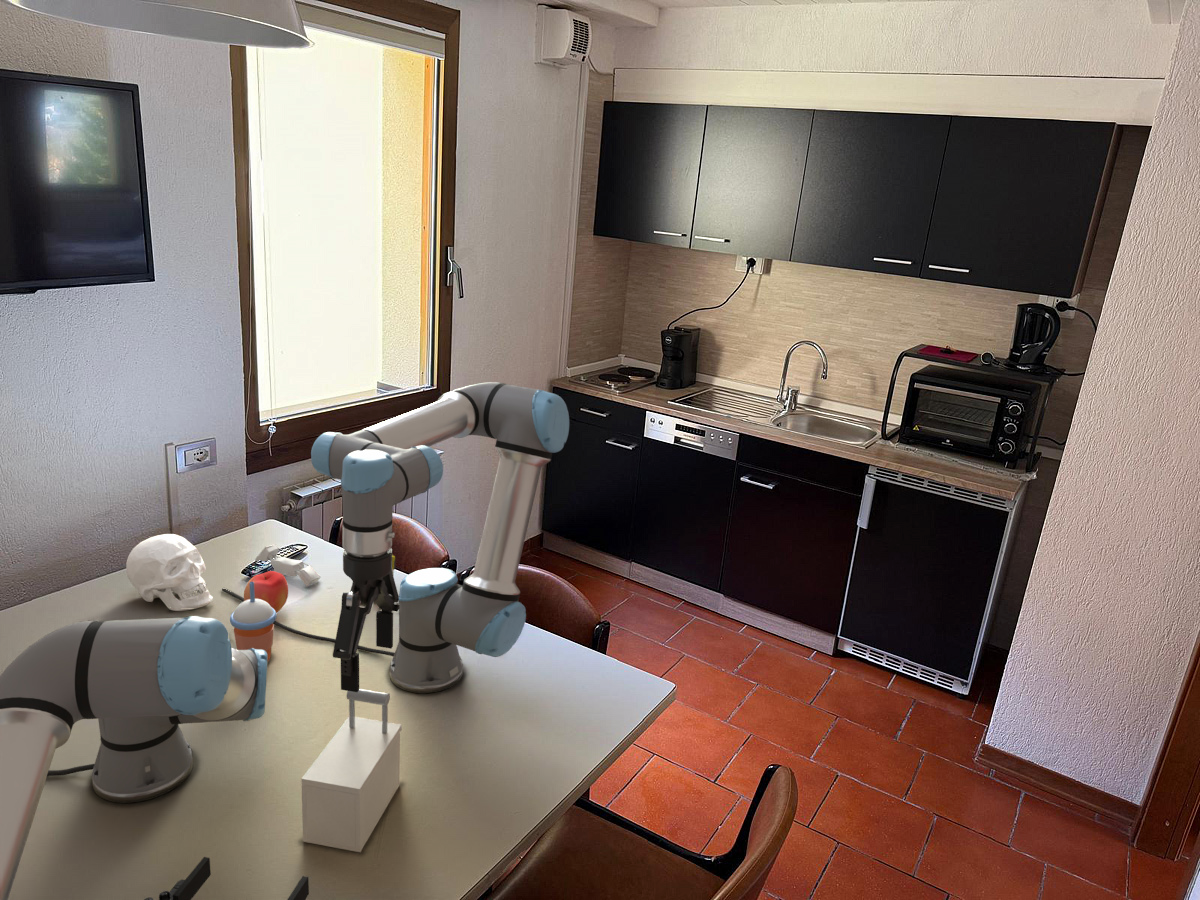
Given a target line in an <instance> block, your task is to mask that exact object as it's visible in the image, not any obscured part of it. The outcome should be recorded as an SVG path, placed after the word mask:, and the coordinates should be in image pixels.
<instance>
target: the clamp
mask: <svg viewBox="0 0 1200 900" xmlns="http://www.w3.org/2000/svg"><path fill="white" fill-rule="evenodd" d="M280 549H281V547H279V546H278V545H277V544H272V545H266V546H264V547H263V549H262V550H261V551H260V552H259V554H258V555H257V556H256V557H255V559H254V562H255V563H256V561H259V560H262V561H268V560H271V562H270V563H269V564H271V565H272V566H273V568H274V571H275V572H278V573H281V574H282V575H283V576H288V577H292V578H296V577H298V578H299V579H300V580H301V582H303V584H304V585H305V587H309V586H312V585H314V584H316V583H318V582H319V580H320V579H321V578H322V577H321V575H320V574H319V573H318V572H317V570H315V569H314V568H313V566H312V565H310V564H309V565H308V564H307V563H305V562H304V561H303V560H301V559H300V560H299V559H292V558H289V557H285V556H278V553H279V551H280ZM273 558H274V559H273ZM272 559H273V560H272ZM305 566H306V567H305ZM270 571H271V570H270Z"/></svg>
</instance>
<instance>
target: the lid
mask: <svg viewBox="0 0 1200 900" xmlns="http://www.w3.org/2000/svg"><path fill="white" fill-rule="evenodd" d="M390 694H391V693H387V692H382V691H376V690H370V689H363V688H359V691H358V692H352V691H347V692H346V700H348V716H347V718H346V719H345V720H344V722H343V723H342V725H341V726H340V727H339V728H338V730H337V731H336V733H334V734H333V736H332V737H331V739H330V740H329V742H328V743H327V744H326V746H324V748H323V749H322V751H321V752H320V753H319V755H318V756H317V757H316V758H315V760H314V761H313V762H312V764H311V765H310V766H309V768H308V769H307V771H306V772H305V773H304V774H303V776H302V777H301V779H300V780H301V781H300V783H301V784H300V785H302V784H303V785H308V786H314V787H319V788H325V789H330V790H336V791H341V792H347V793H352V794H358V795H360V794H361V792H362V791H363V789H364V788H365V786H366V784H367V783H368V781H369V780H370V778H371V777H372V775H373V774H374V772H375V770H376V769H377V767H378V766H379V764H380V763H381V761H382V759H383V758H384V756H385V755H386V753H387V752H388V750H389V749H390V747H391V745H392V744H393V742H394V741H395V739H396V738H397V736H398V735H399V733H400V734H401V731H402V728H403V727H402V724H401V723H394V722H390V721H388V720H389V719H388V717H389V716H388V713H389V711H388V708H389V707H388V706H389V703H390V701H391V695H390ZM355 702H360V703H367V704H372V705H379V706H381V720H377V719H370V718H365V717H359V716H356V711H355V709H356V708H355V707H356V703H355Z"/></svg>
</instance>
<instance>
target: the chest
mask: <svg viewBox="0 0 1200 900" xmlns="http://www.w3.org/2000/svg"><path fill="white" fill-rule="evenodd" d="M400 772H401V732H400V733H399V735H398V736H397V738H396V739H395V741H394V742H393V744H392V745H391V747H390V749H389V750H388V752H387V753H386V755H385V756H384V758H383V759H382V761H381V763H380V764H379V766H378V767H377V769H376V770H375V772H374V774H373V775H372V777H371V778H370V780H369V781H368V783H367V784H366V786H365V788H364V789H363V791H362V792H361V794H360V795H358V794H352V793H347V792H341V791H336V790H330V789H325V788H319V787H314V786H308V785H303V784H301V810H302V811H301V813H302V816H301V817H302V842H304V843H308V844H314V845H320V846H324V847H331V848H335V849H340V850H345V851H350V852H356V853H361V852H362V850H363V848H364V847H365V846H366V843H367V842H368V840H369V839H370V837H371V835H372V833H373V831H374V829H375V828H376V826H377V825H378V823H379V821H380V819H381V817H382V816H383V814H384V812H385V811H386V809H387V807H388V806H389V804H390V802H391V800H392V799H393V798H394V795H395V794H396V792H397V791H398V789H399V787H400V776H401V775H400Z"/></svg>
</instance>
